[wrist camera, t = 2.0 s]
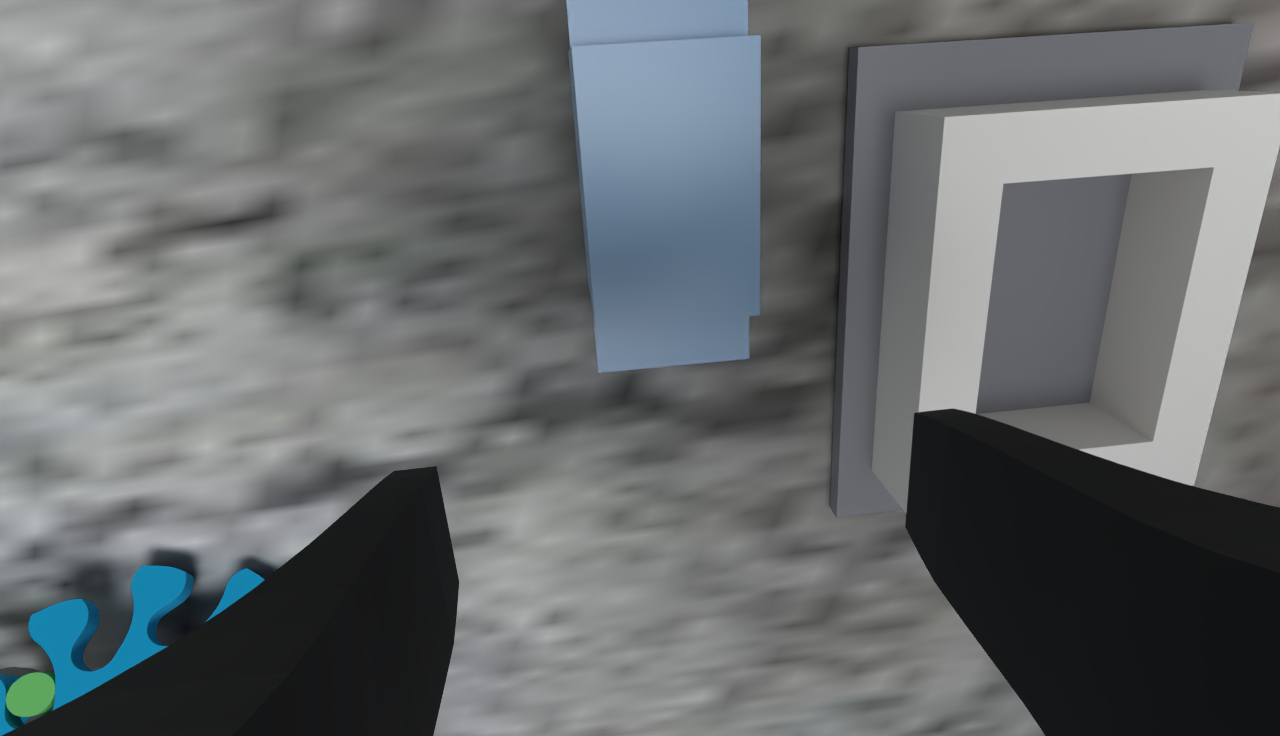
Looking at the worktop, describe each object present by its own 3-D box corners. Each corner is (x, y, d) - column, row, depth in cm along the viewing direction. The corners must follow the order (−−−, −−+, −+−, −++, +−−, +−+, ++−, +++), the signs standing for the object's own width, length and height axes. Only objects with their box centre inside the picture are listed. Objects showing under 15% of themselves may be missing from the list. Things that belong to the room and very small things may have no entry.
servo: (716, -23, 17) (760, -49, 14) (722, 319, 20) (760, 374, 17) (561, -15, 17) (564, -39, 13) (592, 331, 20) (601, 390, 17)
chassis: (1233, 23, 19) (1354, 15, 16) (1136, 473, 24) (1216, 528, 21) (849, 47, 18) (904, 43, 15) (829, 506, 23) (868, 568, 20)
